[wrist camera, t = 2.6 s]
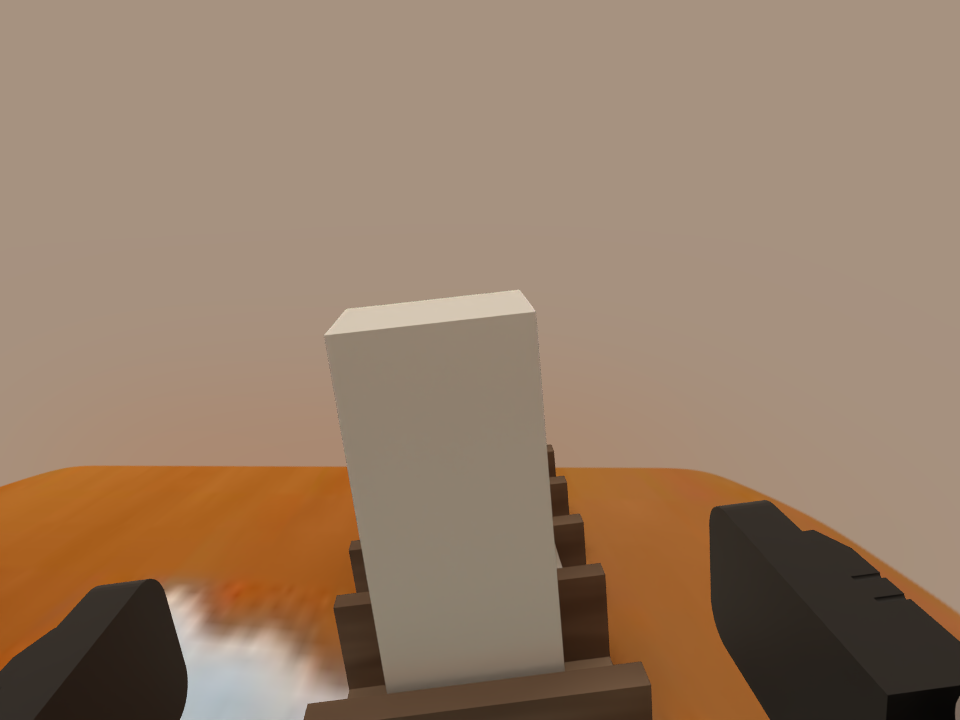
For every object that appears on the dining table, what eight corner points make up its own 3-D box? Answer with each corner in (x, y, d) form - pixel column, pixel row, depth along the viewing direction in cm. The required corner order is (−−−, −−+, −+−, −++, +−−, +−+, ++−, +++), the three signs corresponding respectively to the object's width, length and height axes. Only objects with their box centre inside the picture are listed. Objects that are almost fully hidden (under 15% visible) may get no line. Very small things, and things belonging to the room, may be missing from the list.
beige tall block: (571, 755, 22) (535, 311, 18) (401, 777, 22) (324, 335, 17) (552, 671, 26) (519, 289, 21) (408, 689, 26) (346, 308, 21)
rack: (655, 806, 21) (651, 684, 19) (328, 849, 21) (300, 729, 19) (556, 517, 39) (551, 444, 38) (383, 538, 39) (371, 465, 38)
